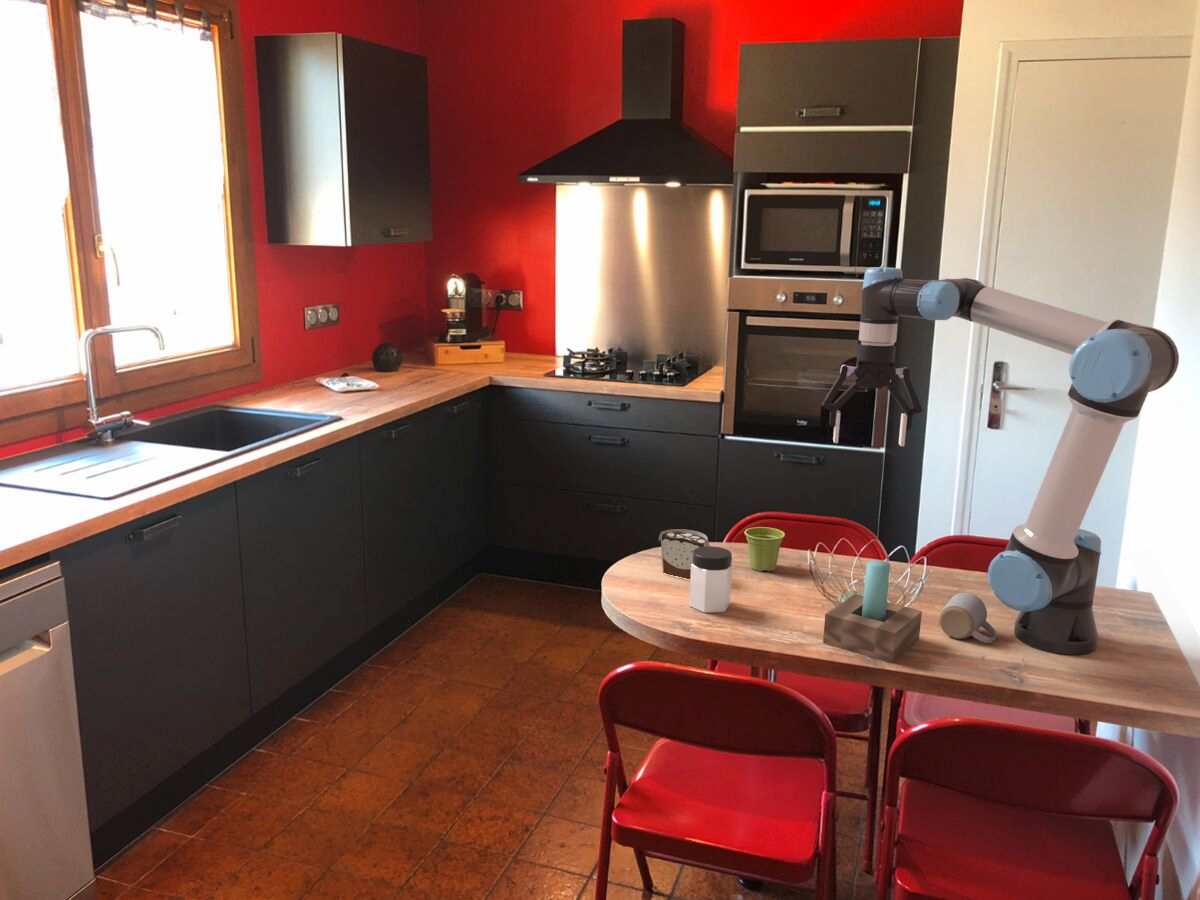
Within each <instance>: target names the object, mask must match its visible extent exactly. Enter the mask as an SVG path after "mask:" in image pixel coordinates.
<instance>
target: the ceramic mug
mask: <svg viewBox="0 0 1200 900" xmlns="http://www.w3.org/2000/svg"><path fill="white" fill-rule="evenodd" d="M987 619H988V610H987V607H986V605H985V603H984V602H983V601H982V599H981V598H980V597H978V596H977V595H976V594H974V593H971V592H959V593H957V594H954V595H953V596H952V597H951V598H950V600H949V601H948V602H947V603H946V604H945V605H944V607H943V608H942V609H941V611H940V614H939V619H938V621H939V625H940V628H941V629H942V632H943V633H944V634H946V636H949V637H950V638H954V639H956V640H957V639H958V640H964V639H967V638H969V637H971V636H972V637H973V638H974V639H976V640H977V641H979V642H981V643H983V644H991V643H993V642H994V641H995V640H996V638H997V637H998V636H997V635H998V634H997V631H996V629H995V628H994V626H992V625H991V624H990V623H989V622H988V621H987ZM980 628H982V629H984V630H985V631H986V632H987V633H988V634H989V636H986V635H984V634H983V633H980V631H978V630H979V629H980ZM990 636H991V637H990Z"/></svg>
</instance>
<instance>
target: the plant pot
mask: <svg viewBox="0 0 1200 900" xmlns="http://www.w3.org/2000/svg"><path fill="white" fill-rule="evenodd" d="M785 534H786V533H785V532H784V531H783V530H780V529H777V528H773V527H765V526H764V527H763V526H757V527H750V528H746V529H745V531H744V535H745V537H746V541H747V547H748V548H747V549H748V561H749V566H750V568H751V569H752V570H754V571H758V572H764V571H767V572H772V571H774V570H776V569H777V564H778V557H779V553H780V548H781V543H782V542H783V539H784V538H785V536H786V535H785Z"/></svg>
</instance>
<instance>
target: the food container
mask: <svg viewBox="0 0 1200 900" xmlns="http://www.w3.org/2000/svg"><path fill="white" fill-rule="evenodd" d="M658 541H660V545H661V546H660V547H661V548H660V549H661V564H662V565H661V567H662V574H663V573H666V574H669V575H673V576H678V577H682V578H686V579H690V577H691V565H692V563H693V551H694V550H695V549H696V548H699V547H706V546H710V542H709V539H708V536H707V535H706V534H704V533H703V532H700V531H696V530H692V529H691V530H690V529H682V528H681V529H667V530H664V531H661V532H660V534H659V536H658Z"/></svg>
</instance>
